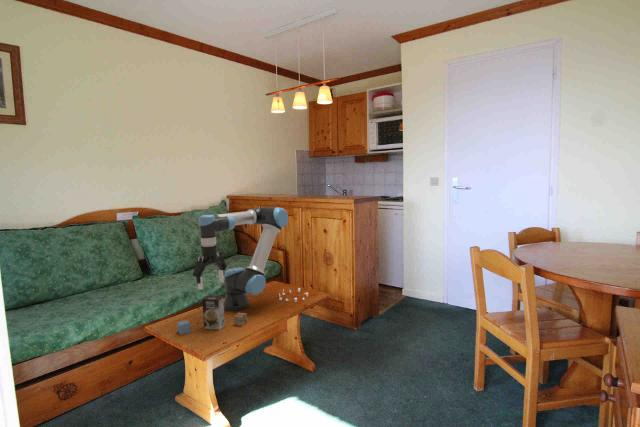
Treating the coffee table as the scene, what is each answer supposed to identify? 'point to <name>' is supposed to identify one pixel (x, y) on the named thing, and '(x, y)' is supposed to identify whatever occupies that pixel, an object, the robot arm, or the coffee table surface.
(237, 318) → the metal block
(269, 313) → the coffee table surface
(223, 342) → the coffee table surface
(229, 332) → the coffee table surface
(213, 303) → the coffee box
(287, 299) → the game piece set
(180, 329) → the slate block
